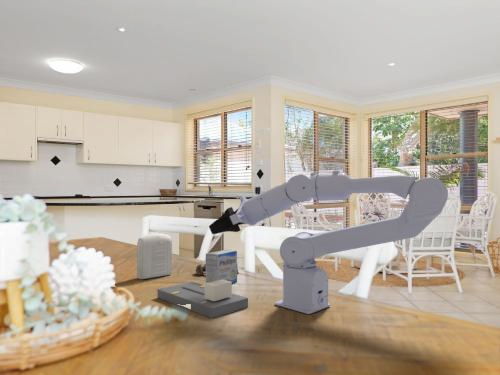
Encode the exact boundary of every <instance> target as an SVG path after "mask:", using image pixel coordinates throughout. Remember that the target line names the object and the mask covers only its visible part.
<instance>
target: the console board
mask: <svg viewBox="0 0 500 375" xmlns="http://www.w3.org/2000/svg"><path fill="white" fill-rule="evenodd" d="M156 290H157V292H156V293H157V296H156V297H157V299H160V300H162V301H166V302H168V303H171V304H172V305H173V304H174V305H176V304H180V305H186V304H191V310H190V311H192V312H194V313H197V314H200V315H202V316H206V317H207V318H210V319H215V318H217V317H220V316H224V315H227V314H230V313H233V312H237V311H241V310H243V309H246V308H249V297H246V296H243V295H239V294H236V293H232V297H228V298H225V299H221V300H217V301H211V300H208V299H205V284H202V283H199V282H193V281H189V282H185V283H179V284H176V285H175V284H174V285H169V286H165V287H161V288H157V289H156Z"/></svg>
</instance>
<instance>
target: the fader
mask: <svg viewBox="0 0 500 375" xmlns="http://www.w3.org/2000/svg"><path fill="white" fill-rule="evenodd" d="M204 285H205V299H208V300H211V301H217V300H221V299H225V298H228V297H232V291H233V288H232V287H233V284H232V282H231V281H227V280H223V279H222V280H218V281H213V282H209V283H206V282H205V283H204Z"/></svg>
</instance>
